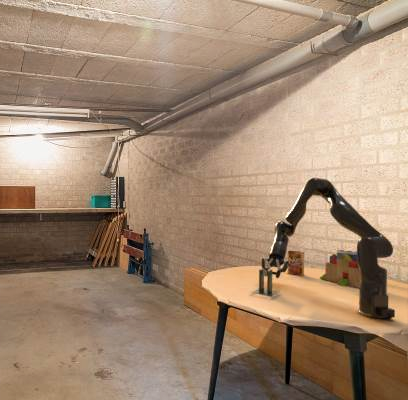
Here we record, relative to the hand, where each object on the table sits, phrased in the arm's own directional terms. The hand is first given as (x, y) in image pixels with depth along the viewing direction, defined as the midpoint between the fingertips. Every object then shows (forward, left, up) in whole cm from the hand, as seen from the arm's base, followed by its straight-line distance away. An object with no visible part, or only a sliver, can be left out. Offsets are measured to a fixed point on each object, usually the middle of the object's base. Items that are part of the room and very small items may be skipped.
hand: (271, 276), depth 180 cm
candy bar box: (+43, -68, -8) cm, 80 cm away
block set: (+21, -53, -8) cm, 57 cm away
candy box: (+45, -36, -8) cm, 58 cm away
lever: (-3, +2, +1) cm, 4 cm away
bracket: (-6, +5, -8) cm, 12 cm away
